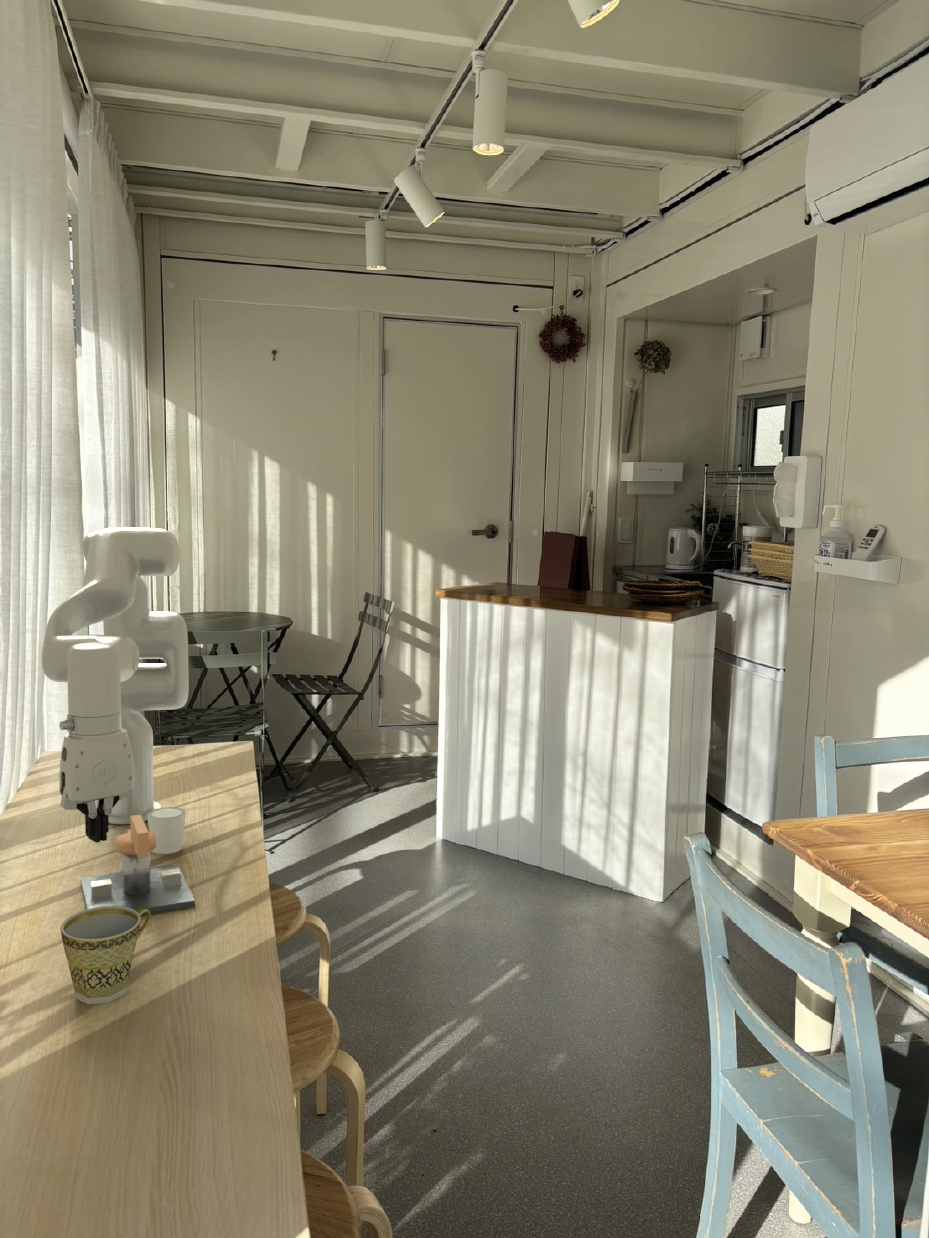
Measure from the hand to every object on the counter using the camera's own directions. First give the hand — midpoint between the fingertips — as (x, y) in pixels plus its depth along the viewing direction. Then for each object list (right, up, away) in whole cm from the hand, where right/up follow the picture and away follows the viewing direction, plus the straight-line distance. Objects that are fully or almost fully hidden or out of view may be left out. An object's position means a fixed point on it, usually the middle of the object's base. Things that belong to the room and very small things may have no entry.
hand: (97, 839), depth 144 cm
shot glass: (+1, -9, +31) cm, 33 cm away
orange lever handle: (+3, -4, +8) cm, 10 cm away
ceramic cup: (+9, -16, -17) cm, 25 cm away
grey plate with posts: (+2, -12, +11) cm, 17 cm away
